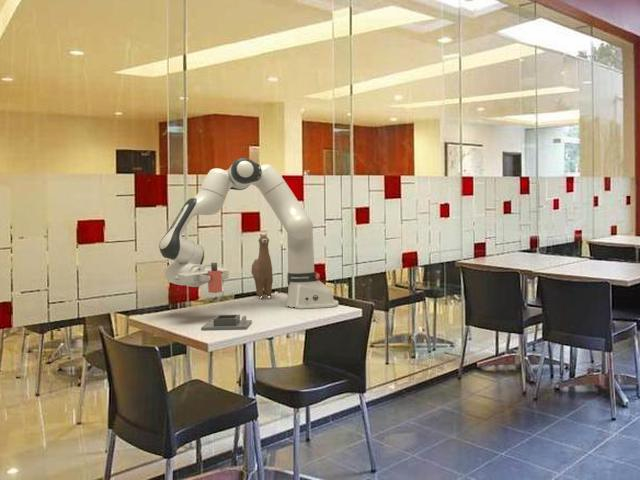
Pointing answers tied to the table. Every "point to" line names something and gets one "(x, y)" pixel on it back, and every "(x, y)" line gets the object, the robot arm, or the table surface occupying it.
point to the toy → (263, 268)
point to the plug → (215, 279)
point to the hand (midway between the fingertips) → (216, 277)
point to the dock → (227, 323)
